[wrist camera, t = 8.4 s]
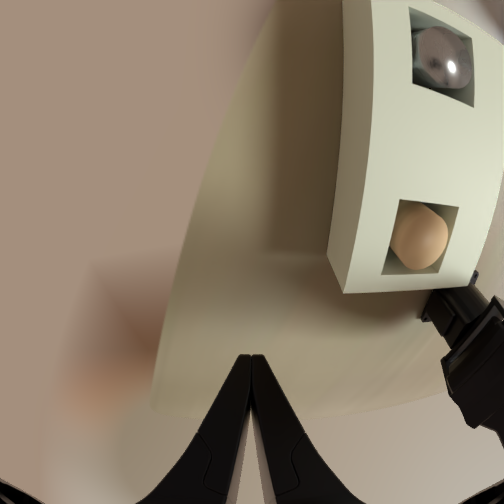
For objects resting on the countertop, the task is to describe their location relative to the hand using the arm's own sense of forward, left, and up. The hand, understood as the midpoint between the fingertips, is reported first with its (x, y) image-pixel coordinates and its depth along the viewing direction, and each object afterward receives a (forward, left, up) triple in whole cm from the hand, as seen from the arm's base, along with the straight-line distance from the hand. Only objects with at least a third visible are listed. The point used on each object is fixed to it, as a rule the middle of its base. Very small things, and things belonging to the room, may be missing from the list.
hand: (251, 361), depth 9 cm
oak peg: (-11, -1, -12) cm, 16 cm away
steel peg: (-11, -13, -12) cm, 21 cm away
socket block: (-12, -7, -12) cm, 19 cm away
